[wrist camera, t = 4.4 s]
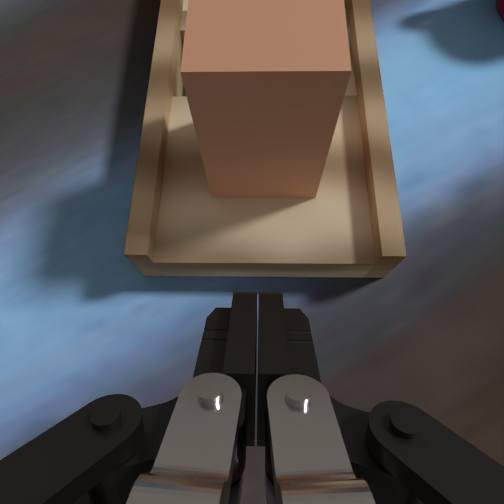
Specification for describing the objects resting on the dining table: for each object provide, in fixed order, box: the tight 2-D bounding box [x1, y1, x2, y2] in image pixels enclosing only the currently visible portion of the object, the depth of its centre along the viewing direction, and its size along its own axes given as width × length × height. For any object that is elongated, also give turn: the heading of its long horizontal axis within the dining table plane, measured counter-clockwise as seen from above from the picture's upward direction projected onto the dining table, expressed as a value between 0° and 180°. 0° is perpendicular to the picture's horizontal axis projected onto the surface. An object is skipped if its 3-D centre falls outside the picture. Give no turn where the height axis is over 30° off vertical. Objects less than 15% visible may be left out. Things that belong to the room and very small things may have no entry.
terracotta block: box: [181, 0, 352, 198], centre depth 18 cm, size 6×6×9 cm
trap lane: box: [124, 0, 406, 278], centre depth 27 cm, size 38×14×5 cm, turn 179°
